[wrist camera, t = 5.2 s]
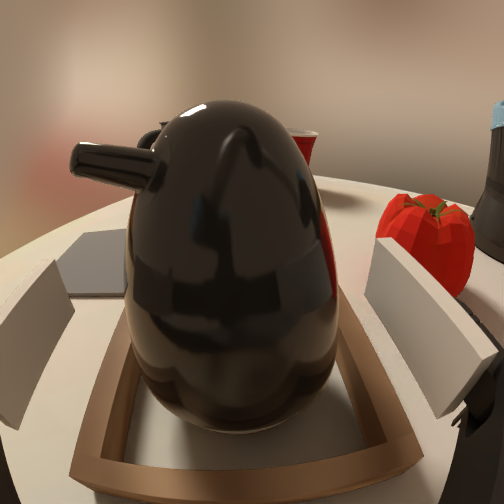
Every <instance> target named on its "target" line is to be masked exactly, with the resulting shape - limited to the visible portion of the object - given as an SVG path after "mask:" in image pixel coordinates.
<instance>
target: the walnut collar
mask: <svg viewBox="0 0 504 504" xmlns="http://www.w3.org/2000/svg"><path fill="white" fill-rule="evenodd" d="M338 288H339V334H338V346H337V353H336V358H335V360H336V362H337V365H338V368H339V370H340V373H341V376H342V378H343V381H344V384H345V386H346V389H347V392H348V395H349V397H350V400H351V403H352V406H353V408H354V411H355V414H356V417H357V420H358V423H359V425H360V428H361V431H362V434H363V437H364V440H365V443H366V446H367V449H364V450H360V451H357V452H353V453H349V454H345V455H341V456H337V457H333V458H328V459H323V460H318V461H313V462H307V463H301V464H295V465H288V466H280V467H271V468H261V469H247V470H217V471H212V470H182V469H168V468H158V467H149V466H142V465H135V464H129V463H123V456H124V450H125V445H126V439H127V434H128V428H129V423H130V418H131V413H132V409H133V404H134V399H135V395H136V391H137V386H138V382H139V378H140V374H141V372H140V369H139V367H138V364H137V361H136V358H135V354H134V350H133V346H132V342H131V338H130V333H129V329H128V323H127V317H126V310H125V307H124V310H123V312H122V314H121V317H120V319H119V321H118V324H117V326H116V329H115V331H114V333H113V336H112V338H111V341H110V343H109V346H108V348H107V351H106V354H105V356H104V359H103V362H102V364H101V367H100V370H99V373H98V375H97V378H96V381H95V384H94V387H93V390H92V393H91V396H90V399H89V402H88V405H87V408H86V412H85V415H84V418H83V422H82V425H81V428H80V432H79V436H78V439H77V443H76V447H75V451H74V455H73V459H72V463H71V468H70V472H69V477H71V478H73V479H74V480H76V481H77V482H79V483H81V484H83V485H84V486H86V487H88V488H89V489H91V490H93V491H96V492H100V493H104V494H108V495H112V496H116V497H120V498H125V499H130V500H135V501H141V502H147V503H153V504H290V503H297V502H303V501H308V500H314V499H319V498H323V497H328V496H332V495H336V494H340V493H344V492H348V491H352V490H355V489H359V488H362V487H365V486H368V485H371V484H374V483H377V482H380V481H383V480H386V479H388V478H391V477H394V476H396V475H399V474H401V473H404V472H405V471H406V470H408V469H409V468H410V467H411V466H413V465H414V464H415V463H417V462H418V461H419V460H420V459H422V458H423V457H424V455H423V452H422V450H421V447H420V445H419V443H418V440H417V438H416V436H415V433H414V431H413V429H412V427H411V424H410V422H409V420H408V418H407V415H406V413H405V411H404V409H403V407H402V405H401V403H400V400H399V398H398V396H397V394H396V392H395V390H394V388H393V386H392V384H391V382H390V380H389V378H388V376H387V374H386V372H385V370H384V368H383V366H382V364H381V362H380V360H379V358H378V356H377V354H376V352H375V350H374V348H373V346H372V344H371V342H370V340H369V338H368V337H367V335H366V333H365V331H364V329H363V327H362V325H361V324H360V322H359V320H358V318H357V316H356V314H355V313H354V311H353V309H352V307H351V305H350V304H349V302H348V300H347V298H346V297H345V295H344V293H343V291H342V289H341V288H340V286H339V284H338Z"/></svg>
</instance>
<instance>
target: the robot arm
mask: <svg viewBox="0 0 504 504" xmlns="http://www.w3.org/2000/svg"><path fill="white" fill-rule="evenodd" d="M492 115H493V116H492V126H491V128H490V130H491V131H492V135H491V148H490V156H489V165H488V172H487V178H486V185H485V189H484V192H483V194H482V196H481V198H480V200H479V202H478V203H477V205H476V207H475V209H474V211H473V213H472V215H471V216H470V218H469V221H470V223H471V226H472V228H473V231H474V235H475V245H476V246H477V247H478V248H480V249H481V250H482V251H484V252H485V253H487V254H488V255H490V256H492V257H494V258H495V259H497V260H499V261H501V262H504V100H503V101H499V102H497V103H496V104H495V105H494V108H493V114H492ZM364 295H365V297H366V298H367V300H368V302H369V303H370V305H371V306H372V308H373V309H374V311H375V312H376V314H377V316H378V317H379V319H380V320H381V322H382V323H383V325H384V327H385V328H386V330H387V331H388V333H389V335H390V336H391V338H392V340H393V341H394V343H395V345H396V346H397V348H398V350H399V351H400V353H401V355H402V356H403V358H404V360H405V362H406V363H407V365H408V367H409V369H410V370H411V372H412V374H413V376H414V377H415V379H416V381H417V383H418V385H419V386H420V388H421V390H422V392H423V394H424V396H425V398H426V399H427V401H428V403H429V405H430V407H431V409H432V411H433V413H434V415H435V417H436V419H439V418H441V417H443V416H445V415H447V414H449V413H451V412H453V411H454V410H455V409H456V408H457V407H458V406H459V405H460V403H461V402H462V401H463V400H464V402H465V403H466V405H467V406H466V407H465V408H464V409H463V410H462V411H461V412H460V414H459V415H458V416H457V417H456V418H455V419H454V420H453V422H452V424H451V426H454V425H455V424H456V423H457V422H458V421H459V420H460V419H461V423H460V424H459V425H458V426H457V427H458V428H460V429H459V434H458V439H457V443H456V448H455V452H454V456H453V460H452V464H451V467H450V471H449V474H448V477H447V481H446V484H445V487H444V490H443V493H442V495H441V498H440V501H439V503H438V504H504V349H503V348H502V347H501V345H500V344H499V343H498V342H497V340H496V339H495V338H494V337H493V335H492V334H491V333H490V332H489V331H488V329H487V328H486V327H485V326H484V325H483V324H482V323H480V320H479V319H478V318H477V317H476V316H475V315H473V312H472V311H471V310H470V309H469V308H468V307H467V306H466V305H465V304H464V303H463V302H461V301H460V300H458V299H457V298H455V297H454V296H451V295H450V294H449V293H448V292H447V291H446V290H445V289H444V288H443V287H442V285H441V284H440V283H439V282H438V281H437V280H436V279H435V278H434V277H433V276H432V275H431V274H430V273H429V272H428V271H427V270H426V269H425V268H424V267H423V266H422V265H421V264H419V263H418V262H417V261H416V260H415V259H414V258H413V257H412V256H411V255H410V254H409V253H408V252H407V251H406V250H405V249H404V248H403V247H401V246H400V245H399V244H398V243H397V242H396V241H395V240H394V239H393V238H392V237H389V238H376V240H375V246H374V251H373V256H372V262H371V267H370V272H369V276H368V281H367V286H366V290H365V294H364ZM74 312H75V310H74V307H73V305H72V303H71V300H70V298H69V296H68V293H67V291H66V288H65V286H64V283H63V281H62V278H61V275H60V273H59V270H58V267H57V264H56V261H55V259H47V260H42V261H41V262H40V263H39V264H38V265H37V266H36V267H35V268H34V269H33V270H32V271H31V273H30V274H29V275H28V276H27V277H26V278H25V279H24V280H23V281H22V283H21V284H20V285H19V286H18V287H17V288H16V289H15V291H14V292H13V293H12V294H11V295H10V297H9V298H8V299H7V300H6V301H5V303H4V304H3V305H2V306H1V308H0V420H1V421H2V422H3V423H4V424H5V425H6V426H9V427H11V428H13V429H15V430H19V427H20V425H21V422H22V419H23V417H24V414H25V411H26V409H27V406H28V404H29V402H30V399H31V397H32V395H33V392H34V390H35V388H36V385H37V383H38V381H39V379H40V377H41V375H42V372H43V370H44V368H45V366H46V364H47V362H48V360H49V358H50V356H51V354H52V352H53V350H54V348H55V346H56V345H57V343H58V341H59V339H60V337H61V335H62V333H63V332H64V330H65V328H66V326H67V324H68V323H69V321H70V319H71V317H72V316H73V314H74ZM0 504H21V502H20V500H19V497H18V494H17V492H16V489H15V486H14V483H13V480H12V477H11V474H10V471H9V468H8V464H7V461H6V457H5V454H4V450H3V445H2V441H1V437H0Z"/></svg>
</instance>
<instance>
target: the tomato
mask: <svg viewBox="0 0 504 504" xmlns="http://www.w3.org/2000/svg"><path fill="white" fill-rule="evenodd" d="M446 202H447V201H444V200H442V199H440V198H439V197H437V196H435V195H433V194H432V195H431V194H430V195H420V196H417V197H415V198H411V197H410V196H409V195H408V194H397V195H396V196H395V197H394V198H393V199H392V200H391V201H390V202H389V203H388V205H387V207H386V209H385V211H384V213H383V215H382V217H381V219H380V221H379V225H378V229H377V232H376V238H389V237H392V238H393V239H394V240H395V241H396V242H397V243H398V244H399V245H400V246H401V247H403V248H404V249H405V250H406V251H407V252H408V253H409V254H410V255H411V256H412V257H413V258H414V259H415V260H416V261H417V262H418V263H419V264H421V265H422V266H423V267H424V268H425V269H426V270H427V271H428V272H429V273H430V274H431V275H432V276H433V277H434V278H435V279H436V280H437V281H438V282H439V283H440V284H441V285H442V287H443V288H444V289H445V290H446V291H447V292H448V293H449V294H450V295H451V296H454V297H455V298H456V297H457V296H458V295H459V294H460V292H461V291H462V290H463V288H464V287H465V285H466V283H467V281H468V279H469V277H470V273H471V268H472V264H473V259H474V256H473V255H474V250H475V235H474V231H473V228H472V226H471V223H470V221H469V218H468V216H469V215H468V214H467V213H466V212H464V211H463V210H462V209H461V208H460V207H458V206H457V205H456V204H453V205H451V206H449V207H448V206H447V205H446ZM375 240H376V239H375Z"/></svg>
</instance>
